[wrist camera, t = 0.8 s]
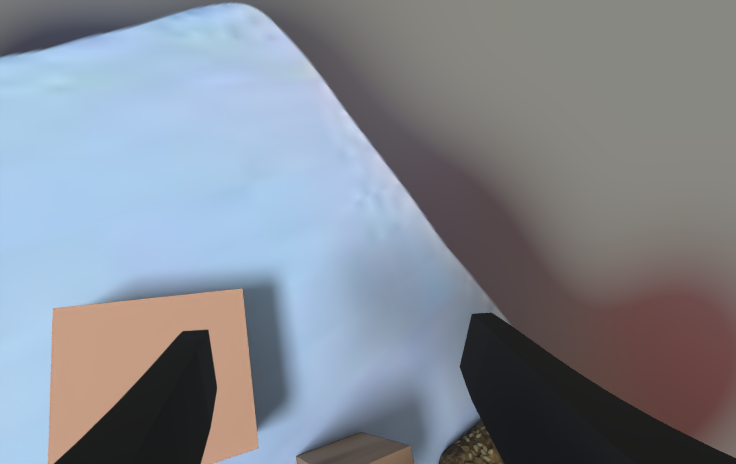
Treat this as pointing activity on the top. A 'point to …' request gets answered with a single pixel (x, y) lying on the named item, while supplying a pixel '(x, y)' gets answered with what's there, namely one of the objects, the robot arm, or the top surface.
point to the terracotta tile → (148, 364)
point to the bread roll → (473, 449)
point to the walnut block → (359, 452)
